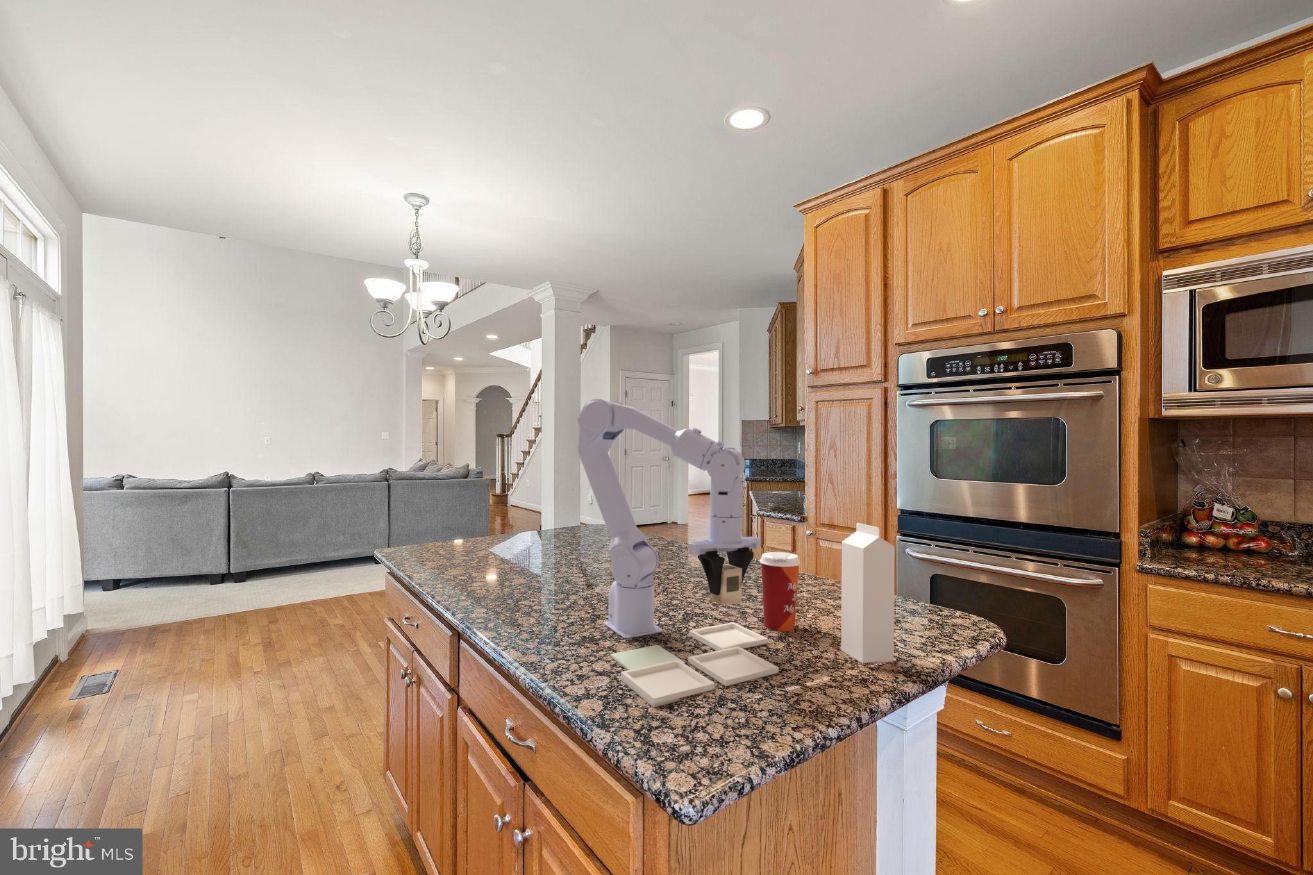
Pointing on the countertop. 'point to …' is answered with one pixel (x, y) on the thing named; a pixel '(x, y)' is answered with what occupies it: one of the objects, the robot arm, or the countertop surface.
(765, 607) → the paper cup
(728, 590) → the letter block
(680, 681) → the dish
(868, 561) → the milk
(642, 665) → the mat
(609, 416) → the robot arm
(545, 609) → the countertop surface
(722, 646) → the dish
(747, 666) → the dish
